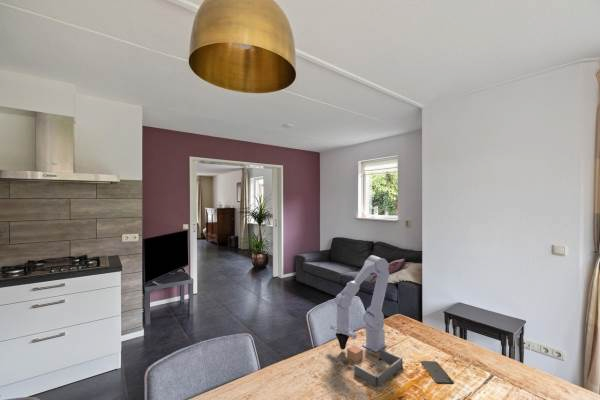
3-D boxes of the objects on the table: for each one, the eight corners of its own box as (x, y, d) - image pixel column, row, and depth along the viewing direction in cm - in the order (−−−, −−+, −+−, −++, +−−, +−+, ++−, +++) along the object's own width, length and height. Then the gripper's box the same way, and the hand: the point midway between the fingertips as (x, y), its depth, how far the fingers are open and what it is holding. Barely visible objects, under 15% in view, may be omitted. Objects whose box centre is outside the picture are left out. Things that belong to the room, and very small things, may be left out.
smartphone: (436, 360, 120) (455, 382, 105) (436, 362, 120) (455, 384, 105) (419, 360, 120) (435, 382, 105) (419, 362, 120) (436, 384, 105)
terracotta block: (353, 353, 127) (353, 345, 127) (362, 358, 123) (362, 349, 123) (347, 357, 123) (347, 349, 123) (355, 362, 119) (355, 353, 120)
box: (380, 356, 124) (380, 348, 124) (402, 366, 116) (402, 358, 116) (354, 373, 111) (354, 365, 111) (377, 387, 103) (377, 377, 103)
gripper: (325, 317, 131) (326, 345, 131) (349, 327, 120) (349, 358, 120) (335, 313, 136) (335, 340, 136) (359, 322, 125) (359, 352, 125)
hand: (342, 348), depth 128 cm, fingers closed
